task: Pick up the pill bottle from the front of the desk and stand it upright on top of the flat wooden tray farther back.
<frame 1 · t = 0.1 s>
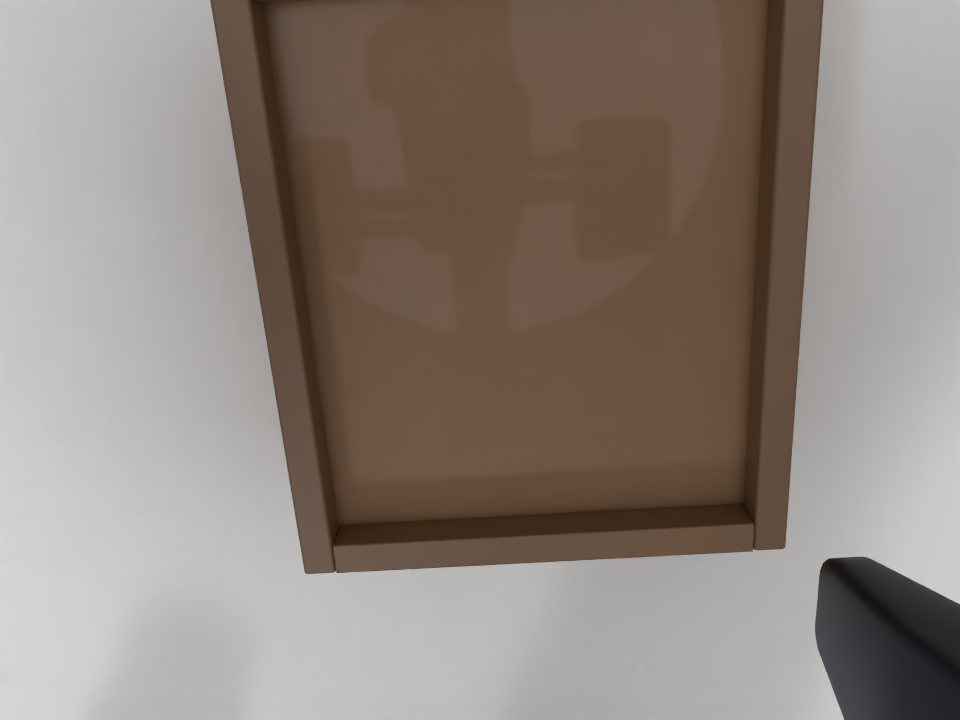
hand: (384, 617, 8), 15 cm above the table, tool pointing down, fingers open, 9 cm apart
wooden tray: (521, 248, 22), on the table
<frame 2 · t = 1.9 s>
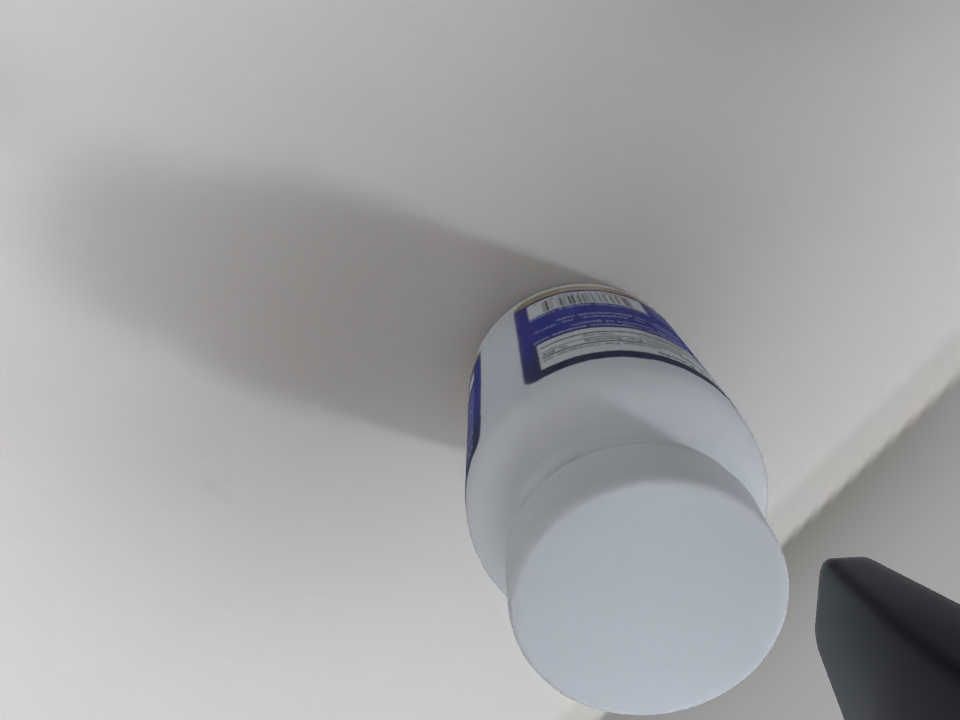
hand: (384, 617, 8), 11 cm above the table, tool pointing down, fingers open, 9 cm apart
pill bottle: (577, 380, 20), on the table
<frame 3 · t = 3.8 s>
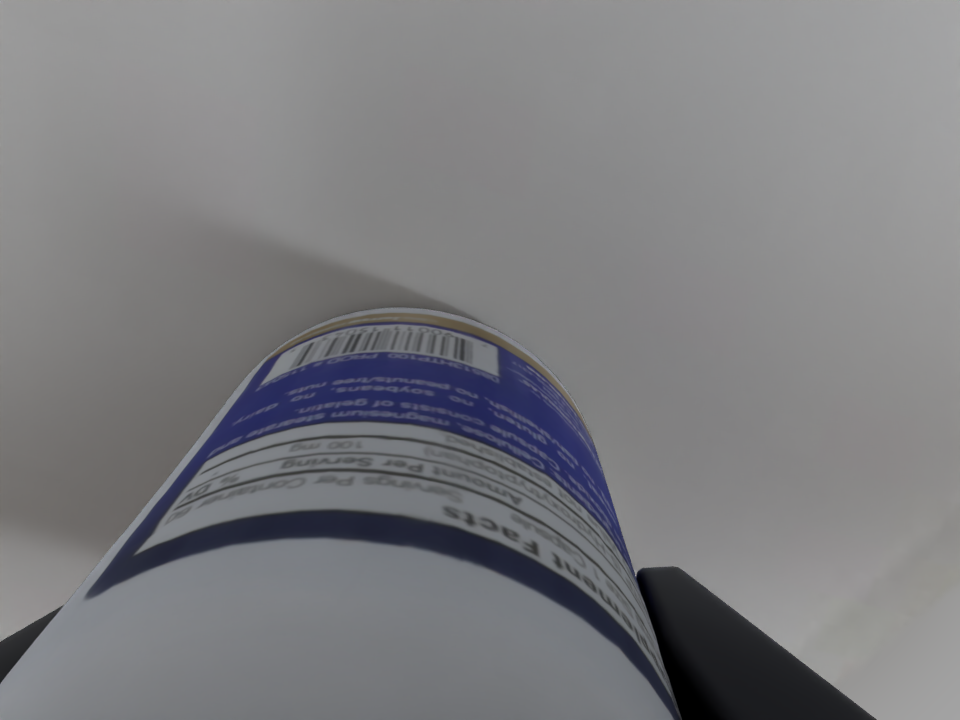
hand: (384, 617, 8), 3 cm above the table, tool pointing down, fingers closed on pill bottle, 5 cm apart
pill bottle: (411, 473, 11), on the table, touching gripper
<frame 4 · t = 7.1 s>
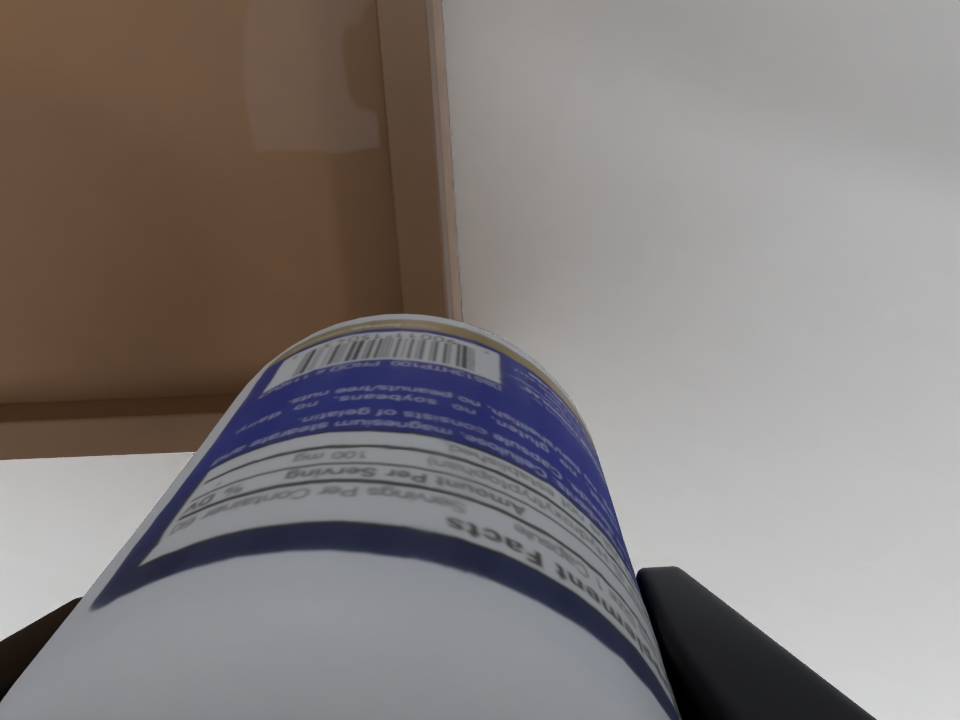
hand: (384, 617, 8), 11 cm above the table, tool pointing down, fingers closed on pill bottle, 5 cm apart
wooden tray: (128, 117, 17), on the table
pill bottle: (412, 479, 11), point 8 cm above the table, touching gripper
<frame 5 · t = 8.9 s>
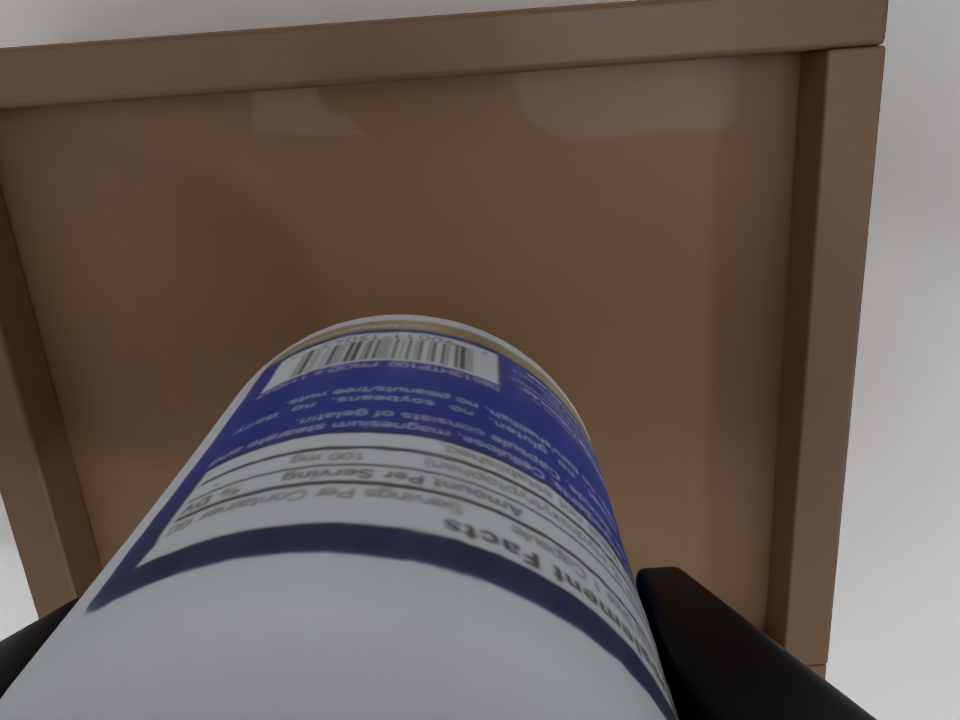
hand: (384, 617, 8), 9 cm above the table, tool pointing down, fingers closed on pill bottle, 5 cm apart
wooden tray: (430, 338, 17), on the table
pill bottle: (411, 479, 11), point 6 cm above the table, touching gripper
when the fingers open (6 cm above the table, at t = 10.6 s): pill bottle stays where it is, resting on wooden tray.
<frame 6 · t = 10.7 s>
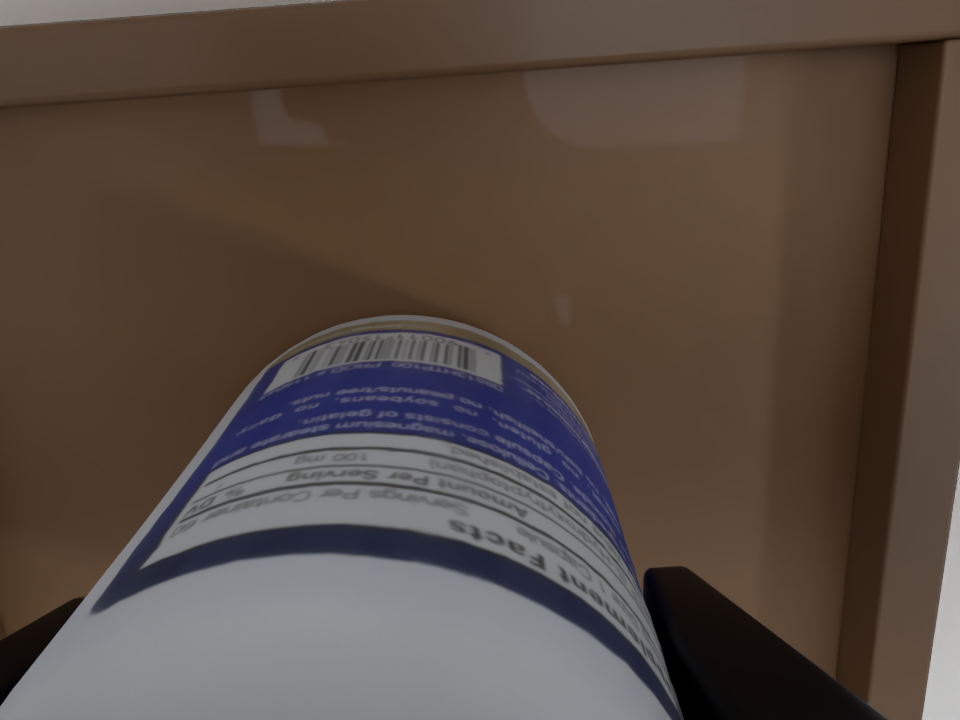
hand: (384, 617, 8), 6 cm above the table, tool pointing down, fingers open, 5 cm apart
wooden tray: (423, 387, 14), on the table
pill bottle: (413, 480, 11), point 3 cm above the table, touching wooden tray
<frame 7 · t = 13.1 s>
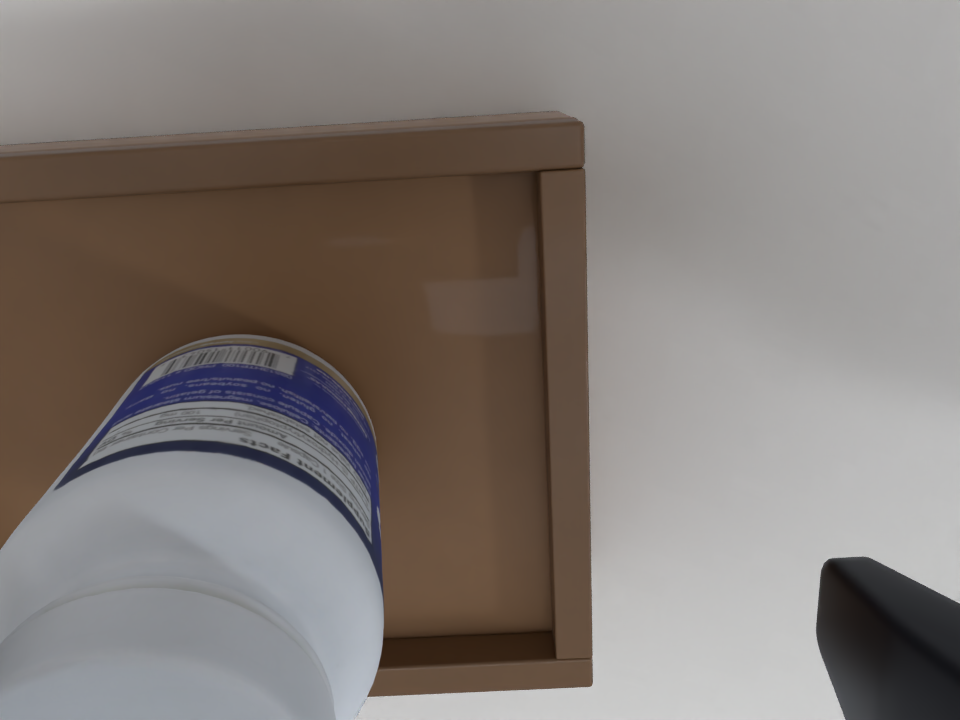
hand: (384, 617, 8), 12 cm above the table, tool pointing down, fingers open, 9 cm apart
wooden tray: (286, 378, 20), on the table
pill bottle: (251, 446, 16), point 4 cm above the table, touching gripper, wooden tray
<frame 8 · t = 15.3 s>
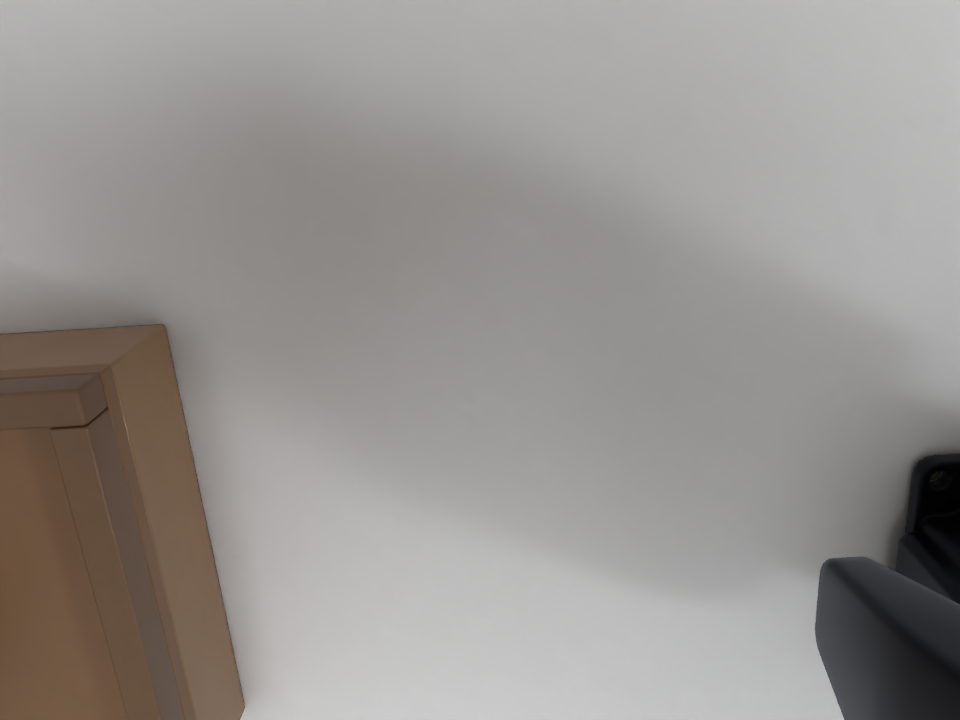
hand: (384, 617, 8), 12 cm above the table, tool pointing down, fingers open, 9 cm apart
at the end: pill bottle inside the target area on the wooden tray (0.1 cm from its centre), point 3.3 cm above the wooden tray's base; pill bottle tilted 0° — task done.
